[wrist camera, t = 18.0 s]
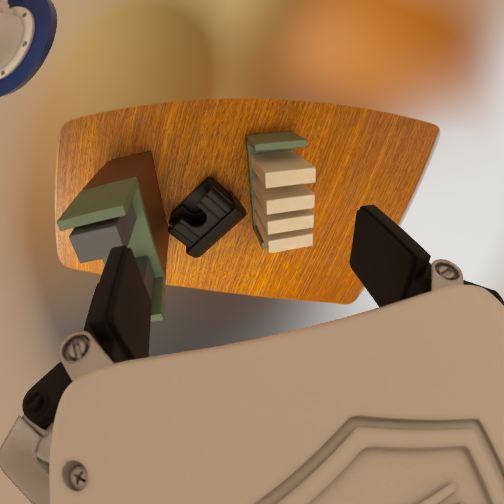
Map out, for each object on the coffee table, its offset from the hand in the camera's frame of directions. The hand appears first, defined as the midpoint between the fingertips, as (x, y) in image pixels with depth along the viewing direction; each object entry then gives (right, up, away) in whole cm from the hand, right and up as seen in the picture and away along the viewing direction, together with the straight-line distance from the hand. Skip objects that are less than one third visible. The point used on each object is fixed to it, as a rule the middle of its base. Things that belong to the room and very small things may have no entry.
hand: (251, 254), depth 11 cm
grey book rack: (-17, +8, +30) cm, 36 cm away
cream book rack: (+3, +11, +33) cm, 35 cm away
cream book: (+3, +14, +30) cm, 33 cm away
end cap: (-7, +7, +34) cm, 35 cm away
